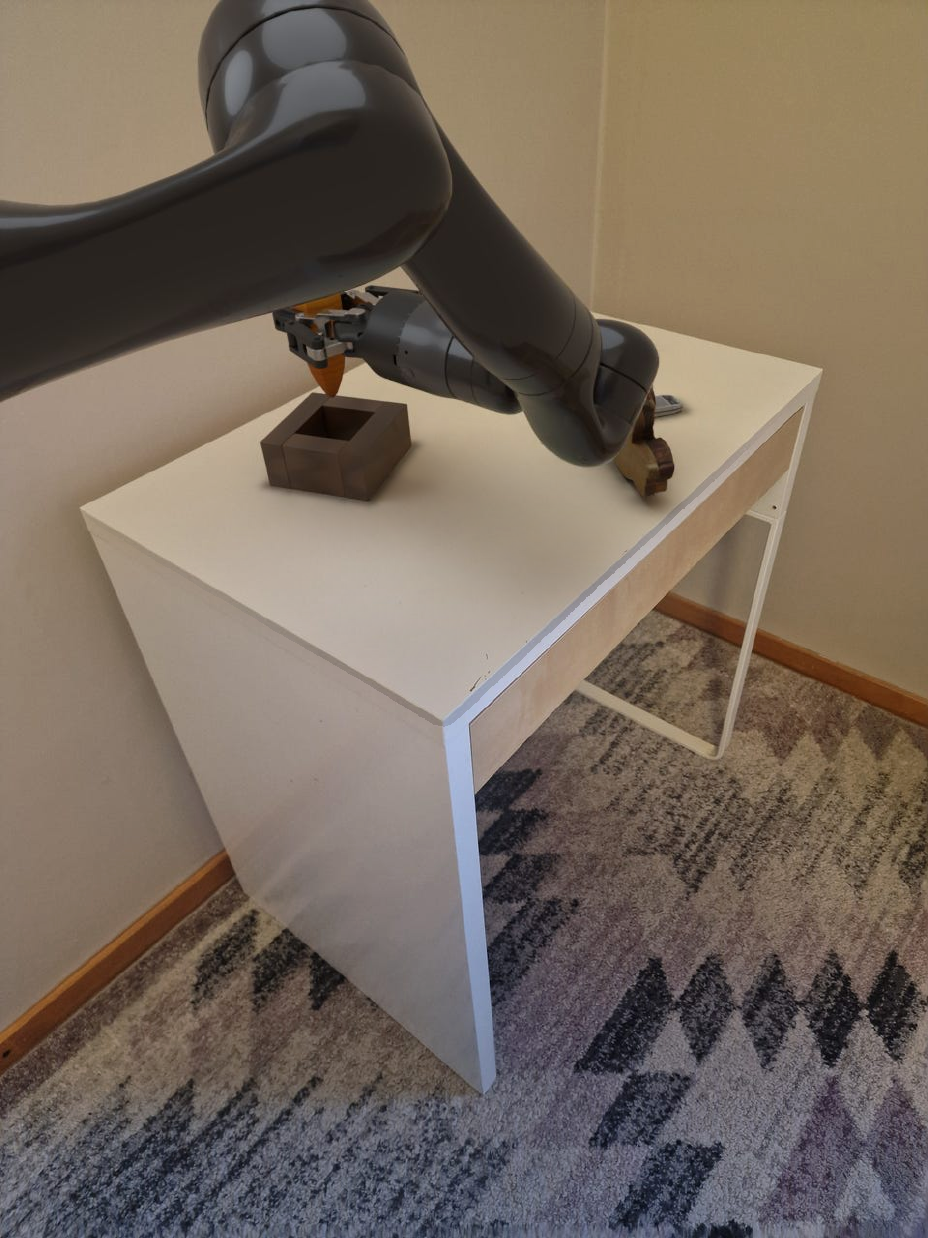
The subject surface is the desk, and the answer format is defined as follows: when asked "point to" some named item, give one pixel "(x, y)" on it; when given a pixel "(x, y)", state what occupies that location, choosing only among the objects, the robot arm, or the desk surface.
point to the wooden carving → (646, 454)
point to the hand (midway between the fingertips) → (298, 307)
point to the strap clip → (666, 405)
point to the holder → (337, 445)
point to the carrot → (334, 372)
